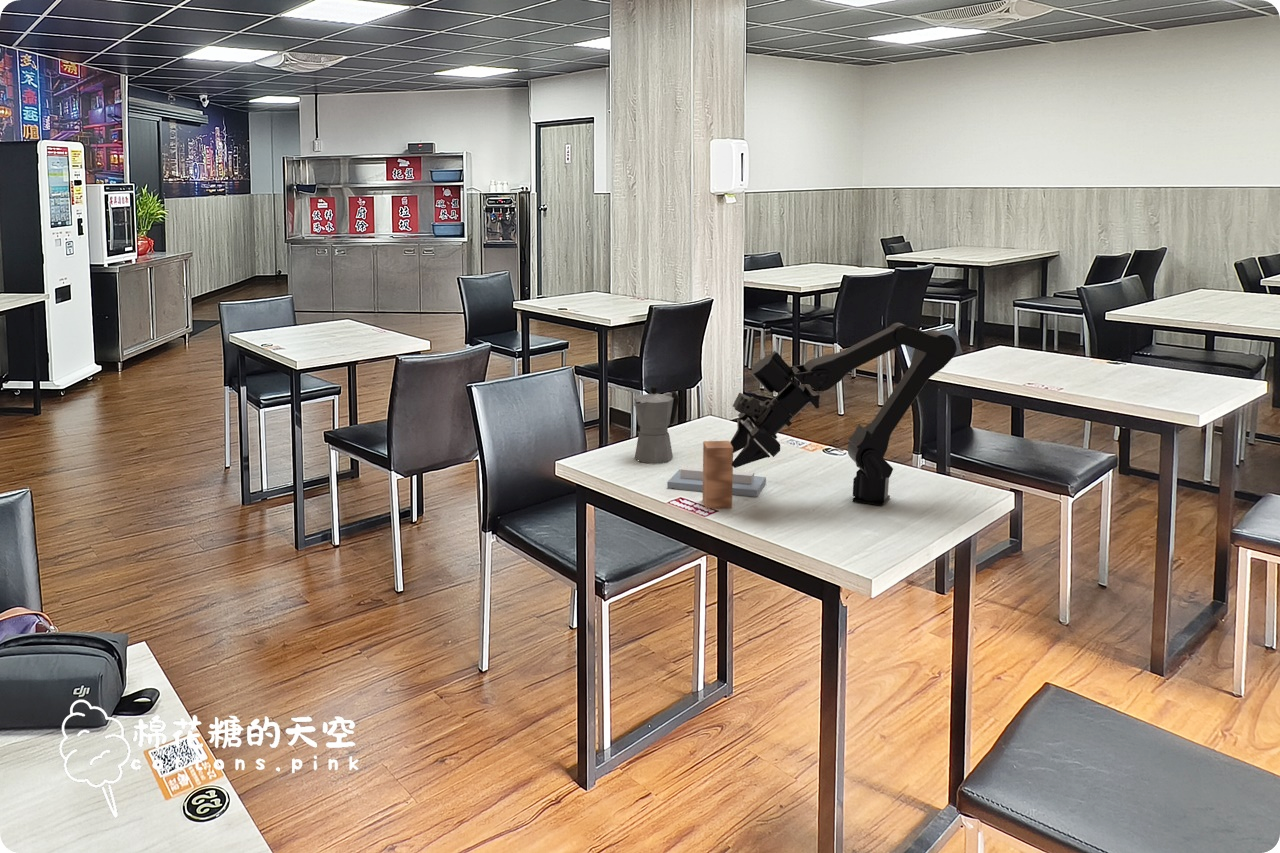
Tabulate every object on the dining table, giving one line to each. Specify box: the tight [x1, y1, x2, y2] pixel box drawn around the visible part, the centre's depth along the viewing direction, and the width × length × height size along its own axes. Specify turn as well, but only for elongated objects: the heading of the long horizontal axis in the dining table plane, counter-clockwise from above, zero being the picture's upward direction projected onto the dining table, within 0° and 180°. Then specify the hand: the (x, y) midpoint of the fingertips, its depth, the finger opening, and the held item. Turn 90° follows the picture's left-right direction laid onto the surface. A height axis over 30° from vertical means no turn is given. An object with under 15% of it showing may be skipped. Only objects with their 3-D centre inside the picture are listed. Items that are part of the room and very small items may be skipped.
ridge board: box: [666, 465, 767, 498], centre depth 223 cm, size 20×10×4 cm, turn 72°
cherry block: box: [702, 440, 734, 509], centre depth 210 cm, size 5×5×13 cm
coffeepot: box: [633, 385, 680, 464], centre depth 243 cm, size 15×9×18 cm, turn 137°
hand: (729, 459), depth 209 cm, fingers open, 9 cm apart
